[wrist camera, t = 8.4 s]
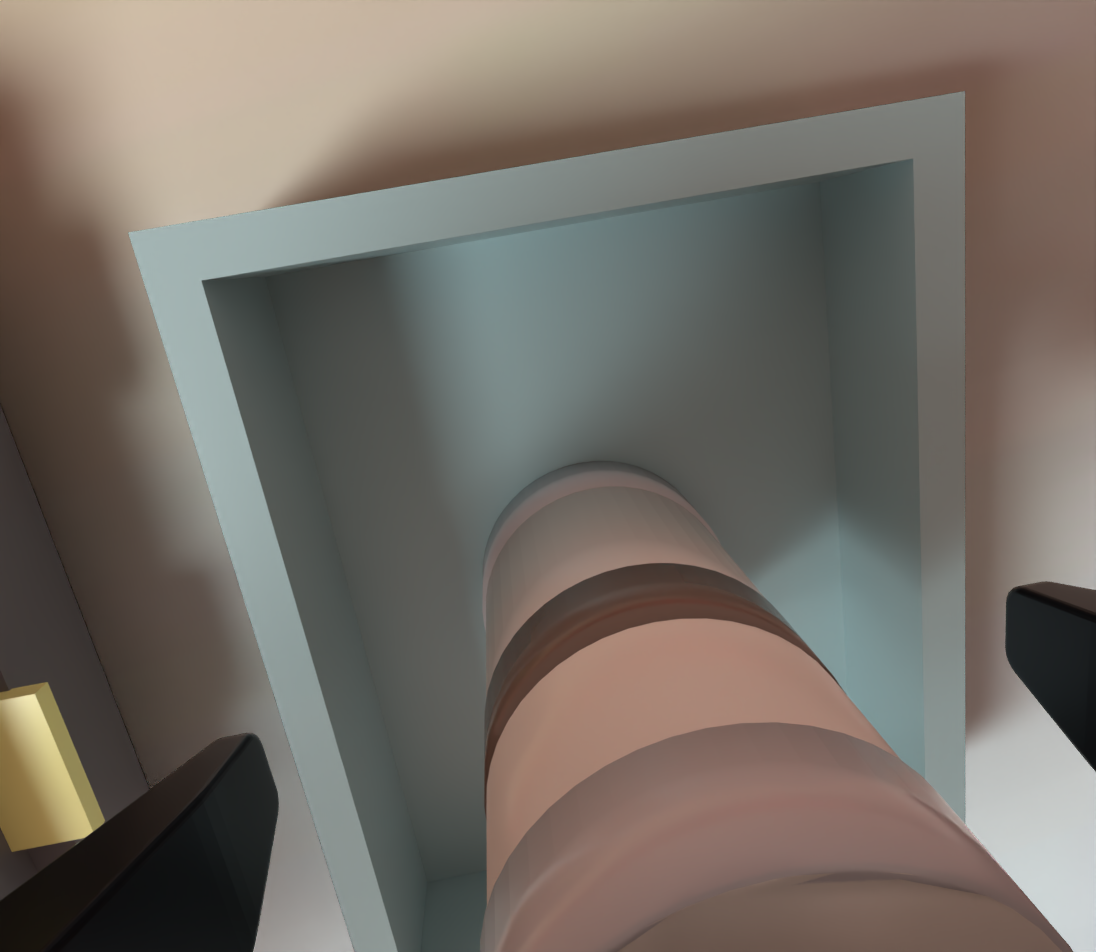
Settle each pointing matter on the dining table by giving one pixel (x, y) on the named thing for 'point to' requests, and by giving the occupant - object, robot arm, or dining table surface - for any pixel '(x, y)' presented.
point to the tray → (576, 440)
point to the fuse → (695, 756)
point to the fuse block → (49, 698)
